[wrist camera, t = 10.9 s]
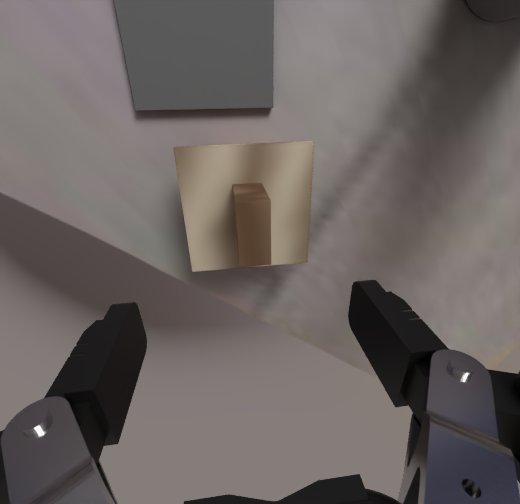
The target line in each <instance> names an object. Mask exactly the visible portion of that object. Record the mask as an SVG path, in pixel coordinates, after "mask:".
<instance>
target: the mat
mask: <svg viewBox="0 0 520 504" xmlns="http://www.w3.org/2000/svg"><path fill="white" fill-rule="evenodd" d="M114 3H115V8H116V13H117V19H118V24H119V29H120V34H121V39H122V44H123V50H124V55H125V60H126V65H127V70H128V75H129V80H130V86H131V91H132V96H133V101H134V106H135V111H137V110H183V109H229V108H273V21H274V0H114Z"/></svg>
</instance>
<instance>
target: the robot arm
mask: <svg viewBox="0 0 520 504" xmlns="http://www.w3.org/2000/svg"><path fill="white" fill-rule="evenodd" d="M466 2H467V4H468V6H469V7H470V8H471V10H472V11H473V12H474V13H475V14H476V15H477V16H479V17H480V18H481V19H484V20H487V21H491V22H501V21H505V20H508V19H512V18H516V17H519V16H520V0H466ZM348 318H349V324H350V327H351V330H352V332H353V333H354V335H355V337H356V339H357V340H358V342H359V344H360V346H361V348H362V349H363V351H364V353H365V355H366V356H367V358H368V360H369V362H370V363H371V365H372V367H373V369H374V370H375V372H376V374H377V376H378V378H379V379H380V381H381V383H382V384H383V386H384V388H385V390H386V392H387V393H388V395H389V397H390V399H391V400H392V402H393V404H394V405H395V407H400V406H408V405H409V407H410V408H411V410H412V412H413V414H412V418H411V423H410V431H409V438H408V445H407V453H406V460H405V467H404V474H403V479H402V484H401V488H400V492H399V497H398V501H397V500H395V499H393V498H391V497H389V496H387V495H385V494H382V493H380V492H376V491H373V490H370V489H365V487H364V485H363V482H362V479H361V477H360V474H357V475H351V476H344V477H338V478H331V479H325V480H318V481H316V482H314V483H313V484H310V485H309V486H307V487H305V488H303V489H301V490H299V491H297V492H295V493H293V494H291V495H289V496H287V497H285V498H283V499H281V500H279V501H265V500H260V499H253V498H247V497H241V496H235V495H222V496H216V497H210V498H203V499H197V500H190V501H184V504H520V494H519V488H518V482H517V480H518V481H519V483H520V372H519V373H518V374H515V373H508V372H500V371H494V370H488V369H486V368H485V367H484V366H483V365H482V364H481V363H480V362H479V361H477V360H476V359H475V358H473V357H471V356H469V355H467V354H465V353H462V352H460V351H456V350H450V349H448V348H447V347H446V346H445V344H444V343H443V342H442V341H441V340H440V339H439V338H438V337H437V336H436V335H435V334H434V332H433V331H432V330H431V329H430V328H429V327H428V326H427V325H426V324H425V323H424V322H423V320H422V319H420V318H419V316H418V315H417V314H416V313H415V312H414V311H412V308H411V307H410V306H409V305H408V304H407V303H406V302H405V301H404V300H403V299H402V298H400V297H398V296H397V295H395V294H394V293H392V292H386V291H385V290H384V289H383V288H382V287H381V286H380V284H379V283H378V282H377V281H376V280H367V281H357V282H354V283H353V285H352V291H351V298H350V306H349V313H348ZM146 348H147V338H146V333H145V329H144V326H143V322H142V319H141V315H140V312H139V308H138V306H137V304H136V303H135V302H132V303H122V304H113V305H111V306H110V308H109V310H108V312H107V314H106V315H105V317H104V319H103V320H96V321H95V322H94V323H93V324H92V325H91V326H90V327H89V328H87V329H86V330H85V331H84V332H83V334H82V336H81V337H80V339H79V341H78V342H77V346H76V347H74V349H73V351H72V353H71V354H70V357H68V359H67V361H66V362H65V364H64V366H63V368H62V369H61V371H60V372H59V374H58V376H57V378H56V379H55V381H54V382H53V384H52V386H51V387H50V389H49V391H48V393H47V394H46V396H45V397H44V399H41V400H38V401H36V402H34V403H32V404H30V405H29V406H27V407H26V408H24V409H23V410H21V411H20V412H19V413H18V414H17V415H16V416H15V417H14V418H13V419H12V420H11V421H10V422H9V423H8V425H7V426H6V428H5V429H4V430H3V431H0V504H118V503H117V500H116V498H115V496H114V493H113V491H112V489H111V486H110V484H109V482H108V479H107V477H106V475H105V472H104V470H103V468H102V465H101V463H100V461H99V458H100V455H101V452H102V449H103V446H106V445H114V444H118V442H119V439H120V436H121V432H122V429H123V426H124V423H125V419H126V416H127V412H128V409H129V406H130V403H131V399H132V396H133V393H134V390H135V386H136V383H137V380H138V376H139V373H140V370H141V366H142V363H143V360H144V356H145V353H146Z"/></svg>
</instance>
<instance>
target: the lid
mask: <svg viewBox="0 0 520 504" xmlns="http://www.w3.org/2000/svg"><path fill="white" fill-rule="evenodd" d="M173 149H174V156H175V162H176V169H177V175H178V182H179V188H180V195H181V201H182V208H183V214H184V221H185V227H186V233H187V240H188V246H189V253H190V259H191V266H192V272H196V271H208V270H221V269H233V268H245V267H257V266H269V265H281V264H293V263H305V262H307V258H308V241H309V224H310V206H311V189H312V172H313V155H314V142H312V141H301V142H278V143H254V144H230V145H206V146H182V147H174V148H173Z"/></svg>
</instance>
